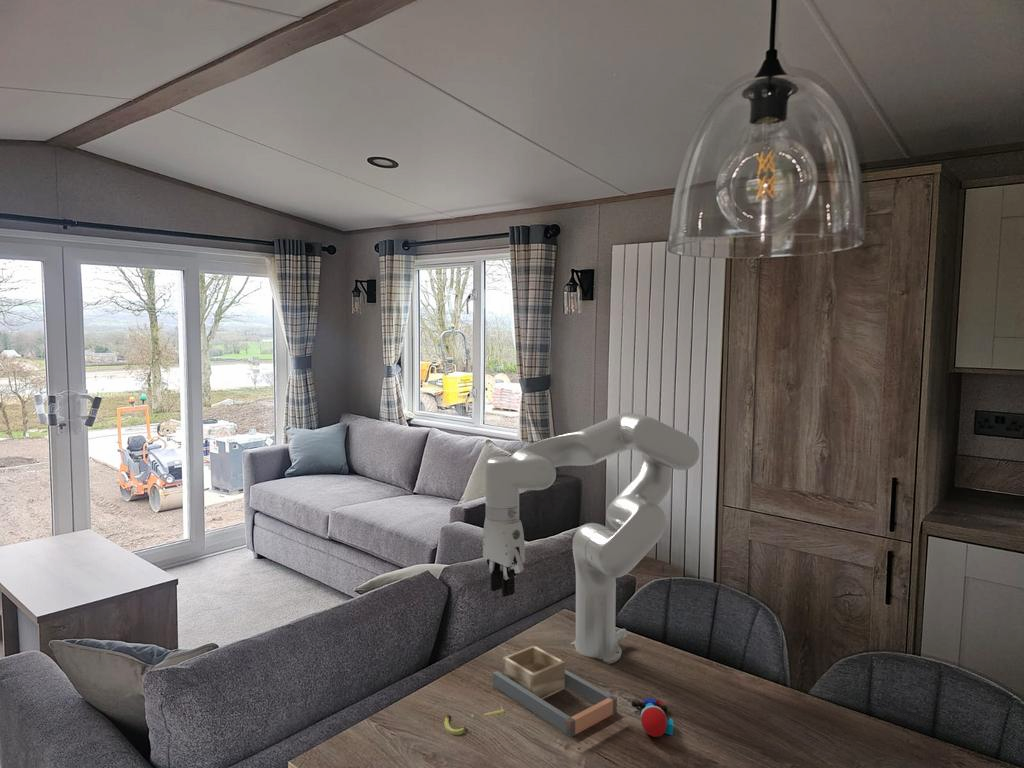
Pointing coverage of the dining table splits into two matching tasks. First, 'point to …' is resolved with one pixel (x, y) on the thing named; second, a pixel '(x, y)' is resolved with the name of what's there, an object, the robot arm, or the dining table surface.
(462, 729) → the key
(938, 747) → the dining table surface
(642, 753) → the dining table surface
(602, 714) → the rail bay
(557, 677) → the crate
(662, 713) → the toy figure
